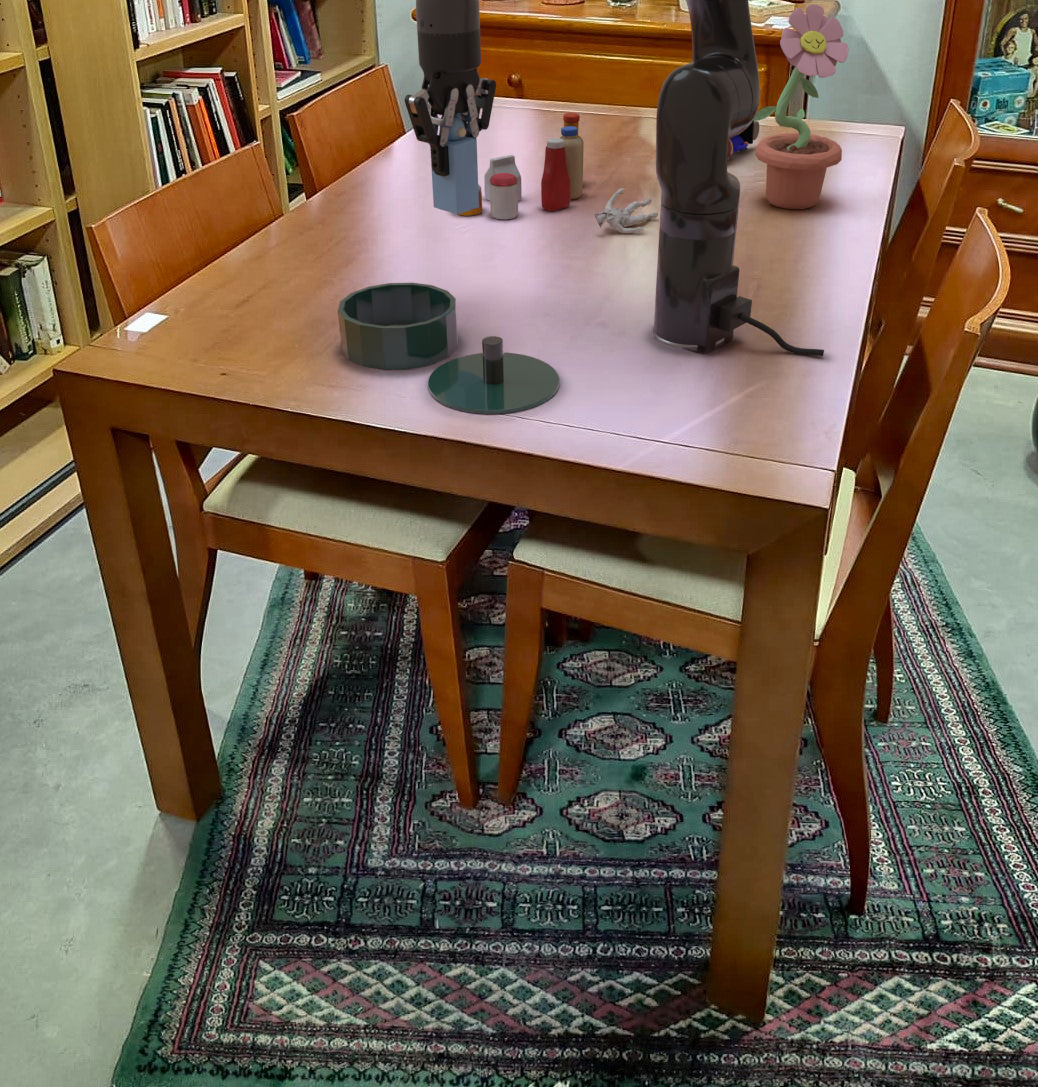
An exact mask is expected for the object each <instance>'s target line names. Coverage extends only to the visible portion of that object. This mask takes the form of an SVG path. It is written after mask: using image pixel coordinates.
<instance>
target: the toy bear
mask: <svg viewBox="0 0 1038 1087" xmlns="http://www.w3.org/2000/svg"><path fill="white" fill-rule="evenodd" d="M443 117H444V116H442V115H441V116H440V118H441V119H443ZM465 135H466V130H465V126H464V123H463V121H462V120H461V113H457V114H456V115H454V120H453V125H452V127H450V129H449V135H448V143H447V145H446V146H448V153H449V175H448V176H444V177H443V176H439V175H436V174H435V173H434V171H433V169H432V166H431V165H430V167H431V182H432V183H431V185H432V199H433V203H432V204H433V208H435V209H438V210H440V211H445V212H448V213H451V214H455V215H459V214H460V213H463V212H466V211H469V210H471V209H474V208H477V207H479V192H478V184H479V170H478V169H479V166H478V164H479V163H478V138H476V139H474V138H470V137H466V136H465ZM429 149H430V150H429V151H430V152H431V148H430V147H429ZM431 163H432V162H431V161H430V164H431Z"/></svg>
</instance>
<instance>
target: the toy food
mask: <svg viewBox="0 0 1038 1087" xmlns="http://www.w3.org/2000/svg"><path fill="white" fill-rule="evenodd" d="M580 117H581V116H580V114H579V113H578V112H577V113H576V112H566V113H564V114H563V116H562V121H563V126H562V127H561V128H560V135H561V136H560V137H552V138H548V139H546V146H545V149H544V150H545V151H544V163H543V164H544V165H543V172H542V177H541V182H540V195H541V196H540V197H541V198H540V199H541V208H542V209H543V210H545V211H550V212H555V211H559V210H562V209H567V208H568V207H569V206H570V203H571V200H575V199H578V198H580V197H581V196H582V194H583V190H584V187H583V186H584V181H583V180H584V147H585V146H584V145H585V143H584V139H583V138H582V137H581V136H580V135H579V126H580V124H579V123H580V121H581V120H580V119H581V118H580ZM483 180H484V181H483V182H484V199H485V200H487V201H489V203H490V204H489V205H490V216H491V218H493V219H497V220H512V219H515V218H517V217H518V215H519V201H521V200H522V198H523V196H522V175H521V173H520V171H519V168H518V167H517V164H516V157H515V155H514V154H509V155H503V156H499V157H494V158H490V159H489V166H488V169H487V171H486V172H485V174H484V179H483ZM478 192H479V207H477V208H474V209H471V210H469V211H466V212H463V213H460V214H458V215H459V216H465V217H469V216H476V215H479V214H481V213H482V212H483V194H482V187H481V185H480V184H479V183H478Z"/></svg>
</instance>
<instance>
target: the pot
mask: <svg viewBox="0 0 1038 1087" xmlns="http://www.w3.org/2000/svg"><path fill="white" fill-rule="evenodd" d="M457 314H458V313H457V298H456V297H455V296H454V295H453V294H452V293H451V292H450V291H448V290H446V289H444V288H441V287H438V286H435V285H432V284H426V283H418V282H387V283H382V284H376V285H370V286H367V287H364V288H361V289H359V290H355V291H353V292H350V293H349V294H348V295H346V296H345V297H344V298H342V299H341V300H339V303H338V307H337V317H338V327H339V335H340V344H341V352H342V353H343V355H344V356H345V357H346V359H347V360H348V361H350V362H352V363H354V364H357V365H359V366H361V367H364V368H369V369H375V370H379V371H380V370H381V371H407V370H408V371H410V370H415V369H420V368H424V367H429V366H432V365H435V364H438V363H439V362H441V361H442V362H443V361H444V360H447V359H448V358H449V357H451V356H452V355H453V353H455V352H456V351H457V349H458V343H459V334H458V333H459V332H458V316H457Z"/></svg>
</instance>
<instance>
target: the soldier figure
mask: <svg viewBox="0 0 1038 1087" xmlns="http://www.w3.org/2000/svg"><path fill="white" fill-rule="evenodd" d="M624 190H626V188H625V187H621V188H619V189H617V191H615V192H614V193H613V195H612V196H611V197H610V199H609V200H608V201H607V203H606V205H605V207H604V209H603V211H602V212H600V213H594V214H593V215H594V218H595V219H596V220H595V221H596V222H597V224H598V226H599V228H600V229H601V228H602V226H603V225H604V224H605V223H607V224H608V225H609V227H611V229H613V230H615V231H617V232H619V233H620V234H635V233H638V234H639V233H641V232H644V231H645V228H643V226H638V227H635V228H633V227H631V226H635V225H637V224H639V223H646V222H647V220H651V219H656V218H657V217H658V216H659V212H658V211H654V212H652V213H648V214H644V213H640V214H636V215H633V213H634V212H635V210H638V209H639V208H640V207H641V208H645V207H646V206H649V205H651V203H652V198H651V197H649V198H647V199H645V200H643V201H637V200H634V201H633V202H631V203H629V204H628V205H627V206H626V207H625V208H624V209H622V208H621V207H613V206H614V205H615V202H616V200H617V198H618V195H623V194H624V192H622V191H624ZM629 227H630V228H629Z"/></svg>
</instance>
